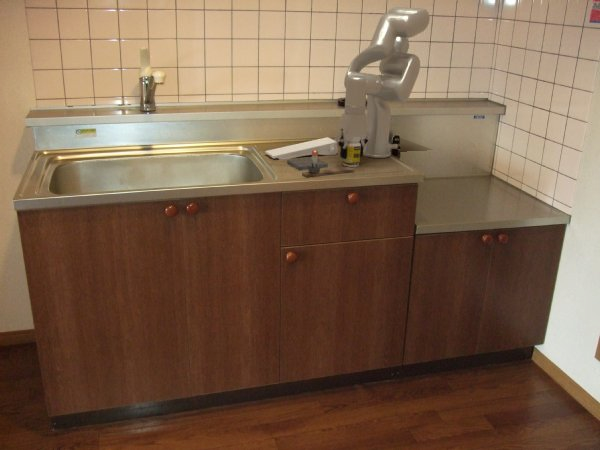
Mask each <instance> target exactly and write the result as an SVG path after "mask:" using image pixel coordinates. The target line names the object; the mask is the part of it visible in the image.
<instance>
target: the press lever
mask: <svg viewBox="0 0 600 450" xmlns="http://www.w3.org/2000/svg"><path fill="white" fill-rule="evenodd" d="M318 156H319V155H318V151H316V150H313V151H312V155H311V158H312V165H310V166H309V168H308V169H307V172H311V173H316V172H320V171H321V168H320V166H318V165H317V159H318Z"/></svg>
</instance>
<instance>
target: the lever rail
mask: <svg viewBox="0 0 600 450" xmlns="http://www.w3.org/2000/svg"><path fill="white" fill-rule="evenodd" d="M354 172H355V169H354V168H353V167H348V166H346V167H340V168H332V169H322V170H321V169H320V172H316V173H311V172H309V171H305V172H303V171H302V173H301V175H302V177H304V178H313V177H314V178H315V177H322V176H329V175H332V176H333V175H340V174H349V173H354Z"/></svg>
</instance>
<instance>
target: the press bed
mask: <svg viewBox="0 0 600 450" xmlns="http://www.w3.org/2000/svg"><path fill="white" fill-rule="evenodd" d="M286 160H287V161H286V162H287V164H288V165H290V166H291V167H293V168H294V169H296V170H298V171H305V170H308V168H309V166H310V165H312V157H305V158H296V159H295V158H293V159H286ZM317 165H318V166H320V169H322V168H328V166H329V164H328V163H327V162H325V161H323V160H322V159H318V158H317Z"/></svg>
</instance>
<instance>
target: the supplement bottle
mask: <svg viewBox="0 0 600 450" xmlns="http://www.w3.org/2000/svg"><path fill="white" fill-rule="evenodd" d="M346 149H347V158H346V159H343V158H342V165H343V166H345V167H350V168H356V167H359V165H360V160H361V157H360V150H361V144H360V137H353V139H352V141H349V142H348V144H347V146H346Z"/></svg>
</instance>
